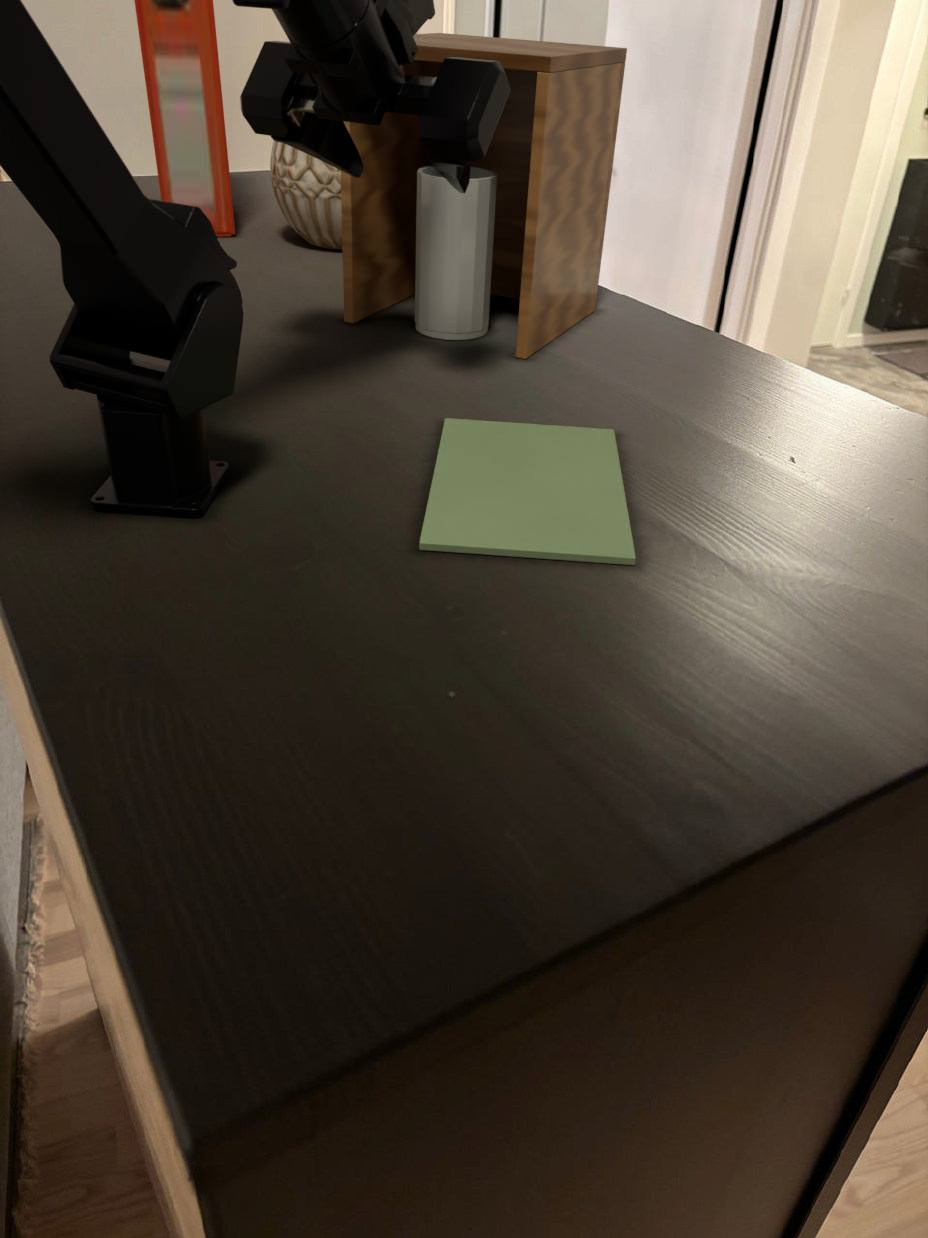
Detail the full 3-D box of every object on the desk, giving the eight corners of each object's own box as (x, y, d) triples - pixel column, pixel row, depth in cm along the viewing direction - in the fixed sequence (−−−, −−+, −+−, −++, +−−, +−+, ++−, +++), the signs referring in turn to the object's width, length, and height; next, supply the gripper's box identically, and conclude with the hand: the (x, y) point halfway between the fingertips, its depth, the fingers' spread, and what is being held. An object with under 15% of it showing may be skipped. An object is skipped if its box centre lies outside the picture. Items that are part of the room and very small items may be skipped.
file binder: (163, 237, 109) (119, -115, 91) (164, 205, 123) (126, -106, 105) (235, 236, 111) (205, -109, 93) (229, 205, 124) (202, -101, 106)
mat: (634, 565, 53) (636, 558, 52) (418, 550, 53) (419, 542, 53) (613, 435, 68) (614, 428, 67) (444, 424, 68) (444, 417, 68)
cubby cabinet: (525, 359, 80) (551, 56, 68) (344, 321, 86) (336, 37, 74) (595, 310, 93) (627, 47, 80) (432, 280, 99) (439, 32, 87)
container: (486, 342, 83) (496, 181, 76) (411, 337, 83) (413, 176, 76) (489, 319, 89) (498, 167, 81) (419, 315, 89) (422, 162, 82)
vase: (249, 247, 107) (232, 39, 96) (312, 220, 119) (304, 34, 108) (380, 265, 103) (379, 50, 92) (431, 235, 116) (436, 43, 104)
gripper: (509, -96, 56) (560, 101, 71) (251, -103, 63) (346, 79, 77) (443, 65, 55) (508, 232, 69) (185, 40, 61) (294, 198, 76)
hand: (411, 179), depth 73 cm, fingers open, 9 cm apart
